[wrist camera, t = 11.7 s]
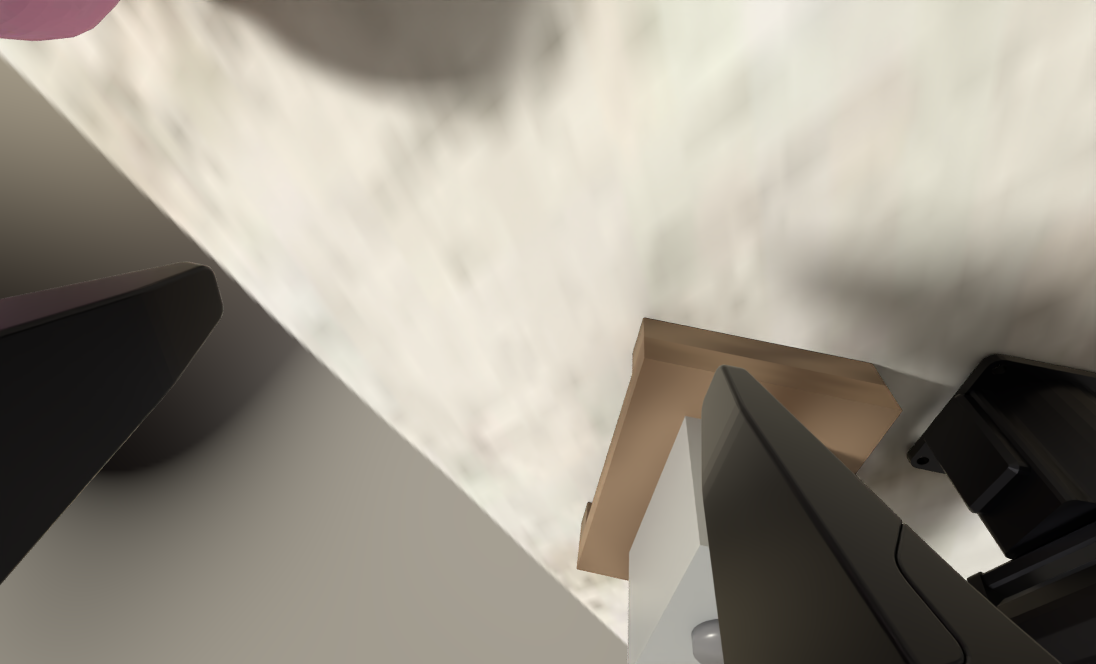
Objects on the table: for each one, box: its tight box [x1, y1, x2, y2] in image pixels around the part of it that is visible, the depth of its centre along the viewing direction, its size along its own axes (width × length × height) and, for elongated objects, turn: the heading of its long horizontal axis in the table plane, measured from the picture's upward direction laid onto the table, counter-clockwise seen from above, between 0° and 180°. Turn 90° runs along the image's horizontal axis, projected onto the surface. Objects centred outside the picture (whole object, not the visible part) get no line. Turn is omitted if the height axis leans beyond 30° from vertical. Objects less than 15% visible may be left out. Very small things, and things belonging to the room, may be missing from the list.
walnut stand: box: [577, 318, 902, 581], centre depth 25 cm, size 10×15×3 cm, turn 171°
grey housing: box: [628, 416, 724, 664], centre depth 21 cm, size 10×5×7 cm, turn 171°
